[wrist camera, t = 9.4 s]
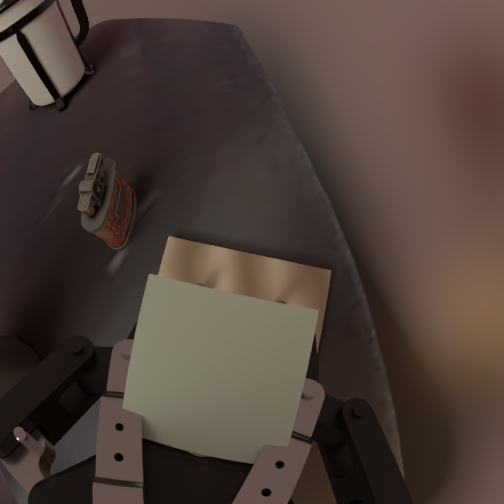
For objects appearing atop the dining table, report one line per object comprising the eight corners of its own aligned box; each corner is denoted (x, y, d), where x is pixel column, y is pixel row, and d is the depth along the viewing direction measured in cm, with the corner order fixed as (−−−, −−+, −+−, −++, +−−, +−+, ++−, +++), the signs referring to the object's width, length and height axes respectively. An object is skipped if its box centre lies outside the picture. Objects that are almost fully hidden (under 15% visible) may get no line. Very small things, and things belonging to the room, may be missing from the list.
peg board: (137, 393, 27) (121, 403, 23) (171, 240, 32) (160, 225, 27) (296, 427, 27) (306, 443, 22) (327, 272, 32) (342, 263, 27)
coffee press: (103, 91, 38) (45, -51, 9) (28, 132, 36) (-54, 22, 7) (100, 47, 42) (63, -61, 13) (36, 81, 39) (-17, -12, 10)
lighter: (130, 251, 31) (92, 221, 22) (106, 250, 31) (63, 221, 22) (140, 188, 33) (112, 143, 24) (116, 189, 33) (84, 146, 24)
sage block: (257, 391, 16) (281, 466, 6) (183, 375, 16) (119, 429, 6) (272, 319, 17) (319, 310, 7) (198, 303, 17) (149, 273, 7)
